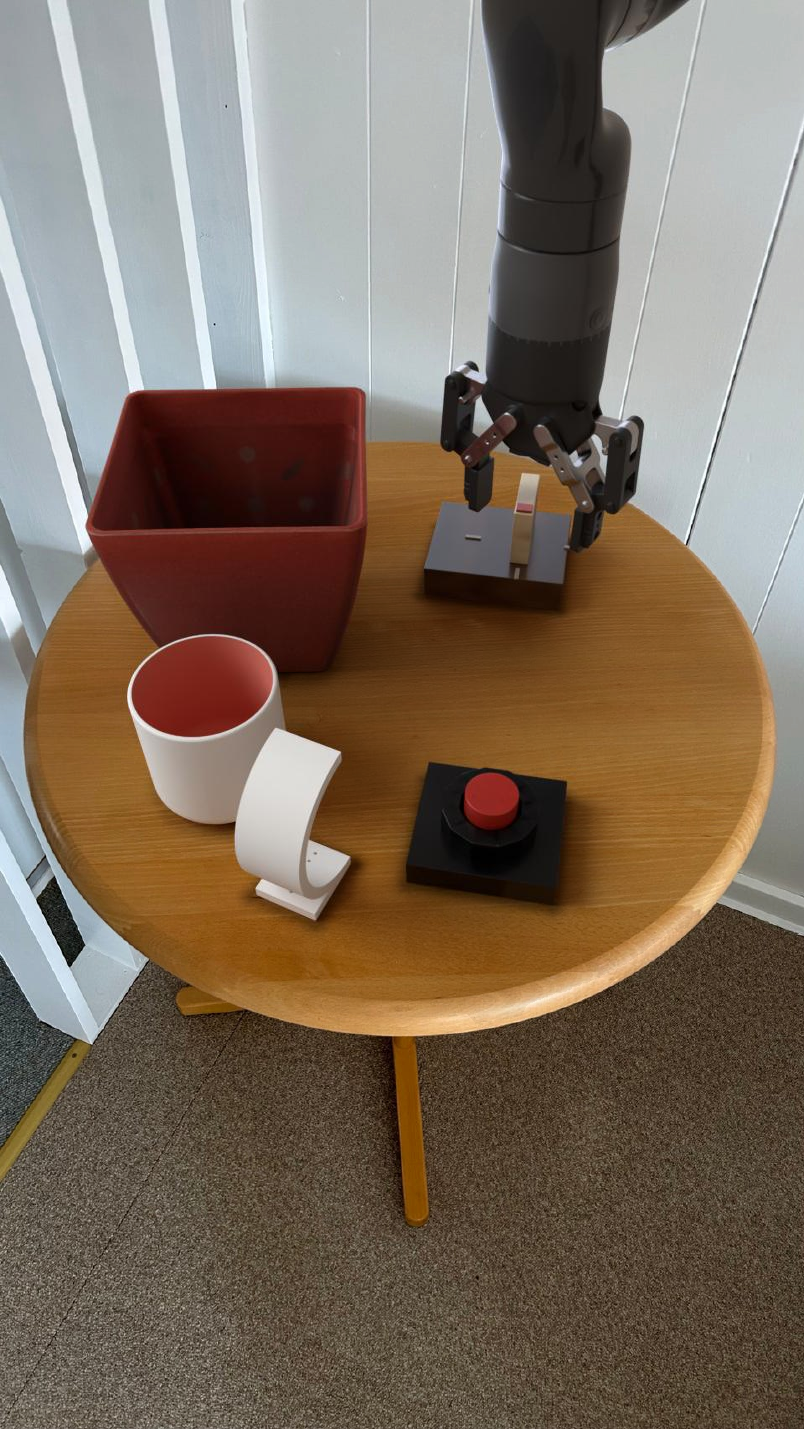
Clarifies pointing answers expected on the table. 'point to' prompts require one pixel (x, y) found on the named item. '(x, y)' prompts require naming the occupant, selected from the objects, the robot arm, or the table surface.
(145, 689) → the cup
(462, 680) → the table surface
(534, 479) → the handle
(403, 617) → the table surface
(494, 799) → the button
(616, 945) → the table surface
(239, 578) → the plant pot
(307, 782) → the headphone stand
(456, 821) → the button block
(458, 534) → the panel
